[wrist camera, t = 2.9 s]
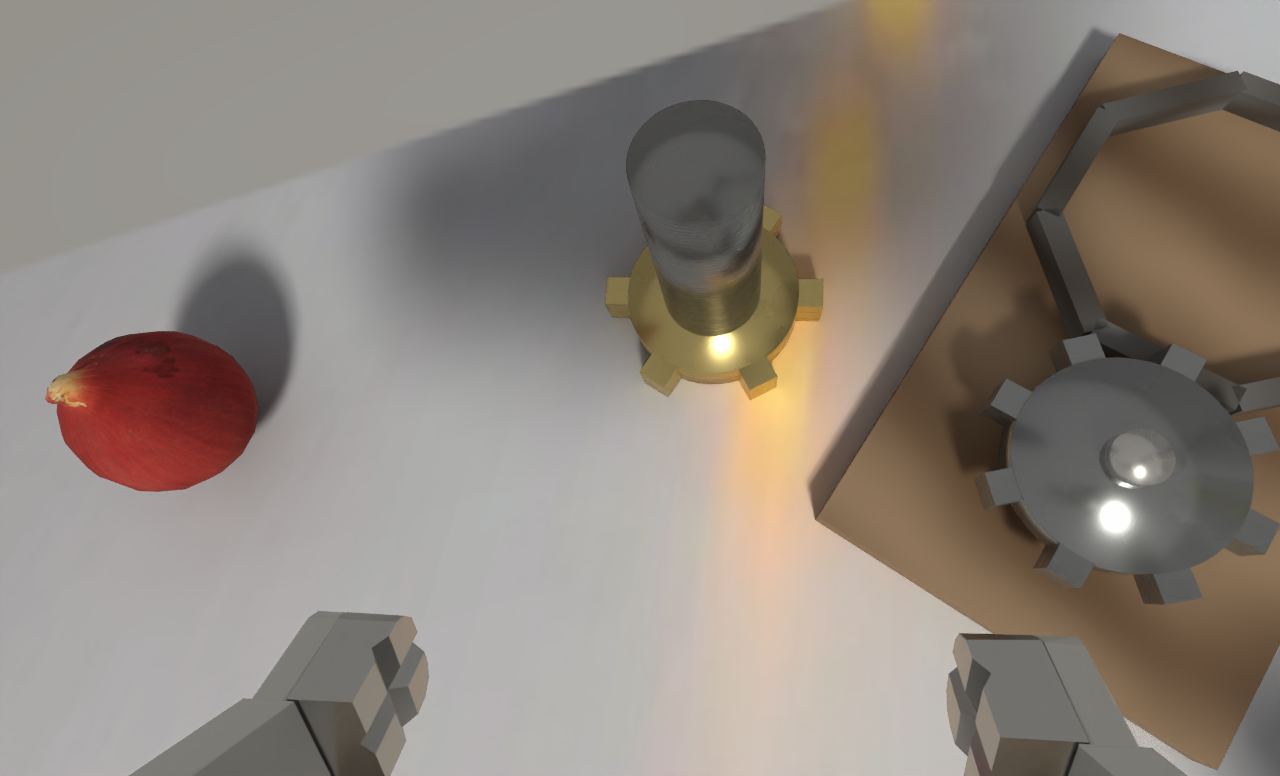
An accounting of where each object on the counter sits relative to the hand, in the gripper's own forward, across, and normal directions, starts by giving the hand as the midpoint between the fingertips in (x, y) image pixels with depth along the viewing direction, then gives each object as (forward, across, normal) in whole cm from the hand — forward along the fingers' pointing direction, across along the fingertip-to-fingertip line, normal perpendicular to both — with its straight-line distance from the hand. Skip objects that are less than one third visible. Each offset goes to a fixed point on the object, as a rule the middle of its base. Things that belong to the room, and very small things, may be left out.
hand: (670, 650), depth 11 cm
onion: (+15, +20, +6) cm, 26 cm away
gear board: (+17, -15, +4) cm, 23 cm away
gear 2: (+13, -12, +6) cm, 19 cm away
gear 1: (+19, 0, +2) cm, 19 cm away
